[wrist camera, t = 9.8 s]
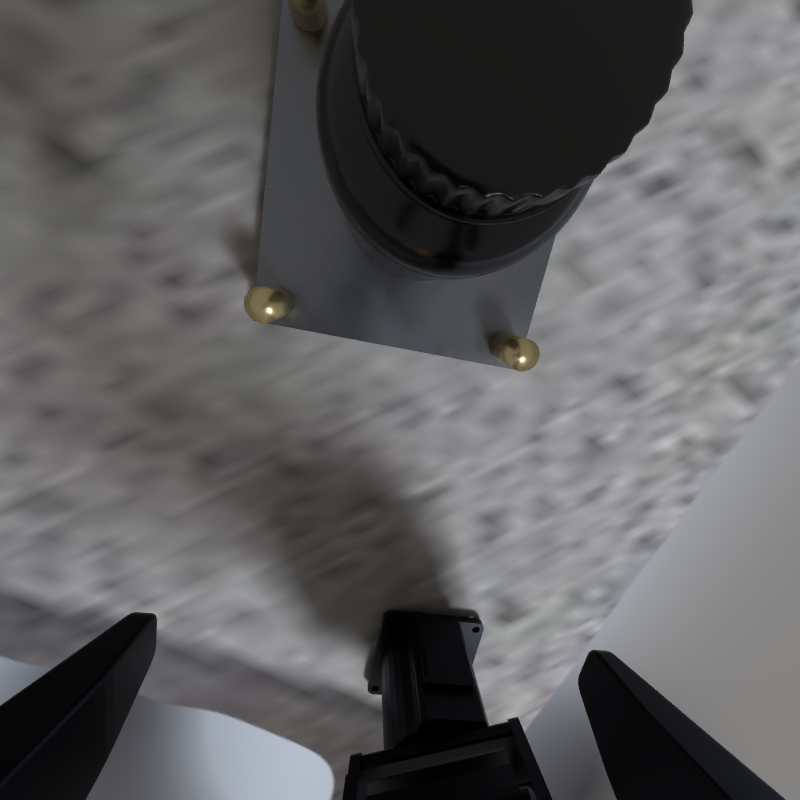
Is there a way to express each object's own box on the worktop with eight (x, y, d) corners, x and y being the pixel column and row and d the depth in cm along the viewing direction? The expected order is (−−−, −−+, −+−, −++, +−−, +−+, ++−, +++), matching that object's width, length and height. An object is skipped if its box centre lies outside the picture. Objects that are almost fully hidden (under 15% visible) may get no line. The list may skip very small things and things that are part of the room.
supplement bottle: (403, 68, 15) (512, -633, 4) (528, 183, 17) (882, -53, 5) (310, 220, 16) (173, 55, 5) (434, 313, 18) (552, 356, 6)
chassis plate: (511, 366, 20) (538, 381, 17) (257, 318, 18) (234, 325, 15) (592, 78, 16) (646, 27, 13) (289, -16, 15) (268, -99, 12)
